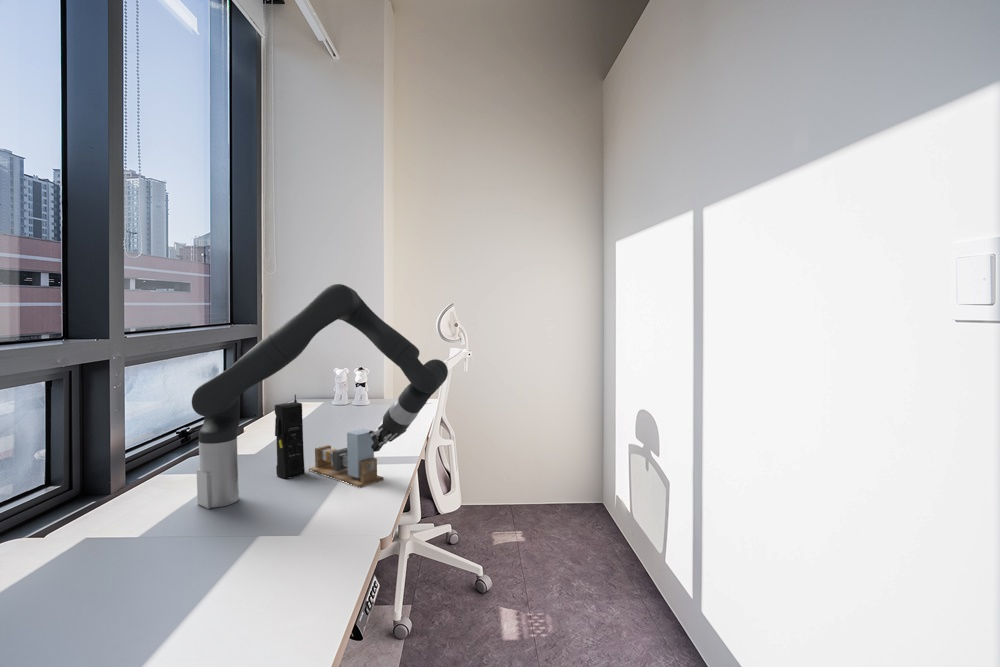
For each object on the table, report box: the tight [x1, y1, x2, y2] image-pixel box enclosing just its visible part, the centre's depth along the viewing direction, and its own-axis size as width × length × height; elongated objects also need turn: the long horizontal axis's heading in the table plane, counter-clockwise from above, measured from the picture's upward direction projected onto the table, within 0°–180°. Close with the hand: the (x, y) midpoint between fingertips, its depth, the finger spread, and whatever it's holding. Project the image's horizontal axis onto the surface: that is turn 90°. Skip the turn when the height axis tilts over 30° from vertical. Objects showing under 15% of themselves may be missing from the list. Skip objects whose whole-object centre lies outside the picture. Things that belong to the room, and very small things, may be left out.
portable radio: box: [274, 394, 306, 480], centre depth 169 cm, size 8×6×25 cm
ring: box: [333, 447, 348, 471], centre depth 171 cm, size 2×6×6 cm, turn 142°
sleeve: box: [346, 428, 375, 478], centre depth 165 cm, size 5×6×13 cm
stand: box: [308, 444, 384, 488], centre depth 170 cm, size 26×9×7 cm, turn 52°
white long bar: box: [320, 448, 374, 473], centre depth 170 cm, size 25×3×3 cm, turn 52°
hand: (374, 449), depth 161 cm, fingers closed
